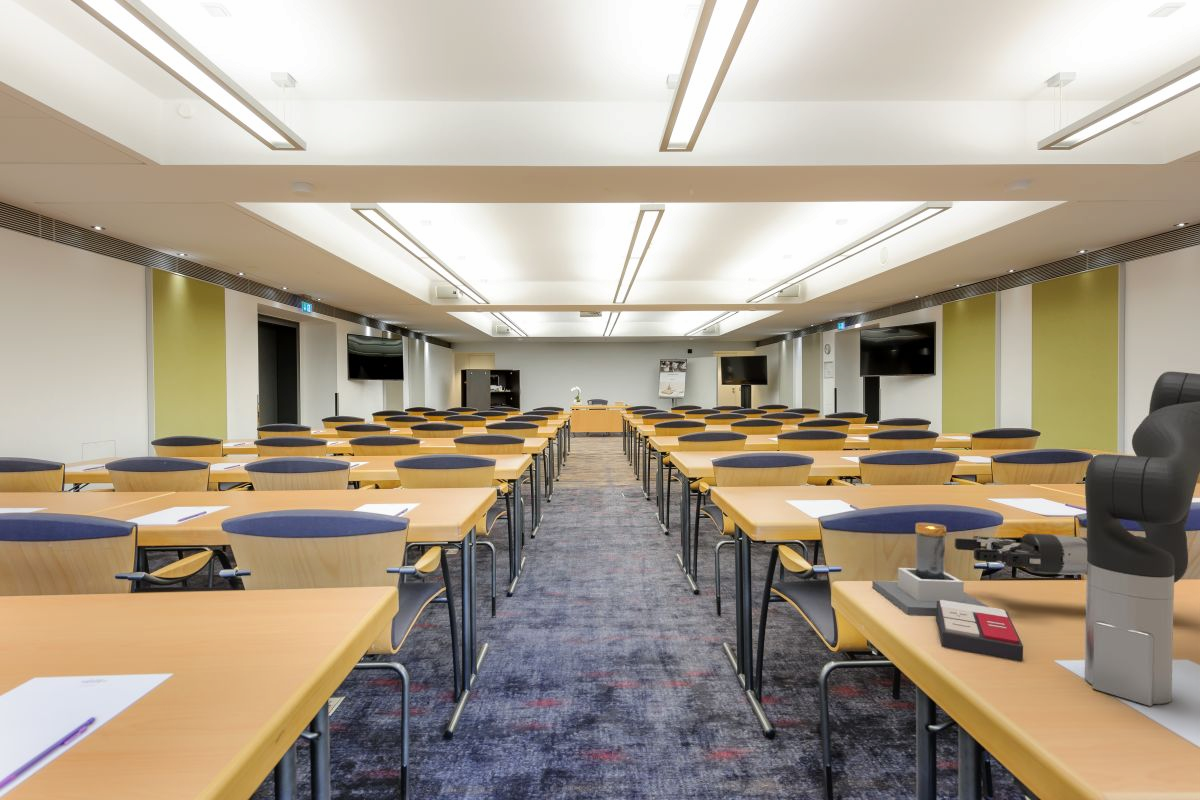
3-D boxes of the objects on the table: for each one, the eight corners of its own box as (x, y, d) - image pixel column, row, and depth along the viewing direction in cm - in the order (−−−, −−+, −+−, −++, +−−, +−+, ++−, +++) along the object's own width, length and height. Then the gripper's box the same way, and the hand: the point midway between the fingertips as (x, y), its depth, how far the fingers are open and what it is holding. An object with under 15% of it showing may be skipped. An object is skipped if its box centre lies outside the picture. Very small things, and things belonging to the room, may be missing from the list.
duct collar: (994, 618, 109) (995, 589, 109) (907, 614, 110) (908, 585, 110) (947, 590, 125) (948, 564, 125) (872, 587, 126) (872, 562, 126)
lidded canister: (939, 600, 114) (940, 529, 114) (910, 593, 118) (911, 524, 118) (949, 595, 117) (950, 526, 117) (920, 588, 121) (922, 521, 121)
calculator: (942, 627, 95) (936, 595, 109) (941, 653, 96) (935, 618, 109) (1024, 641, 90) (1007, 606, 104) (1023, 668, 91) (1006, 630, 104)
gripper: (1033, 527, 121) (949, 522, 123) (1078, 543, 107) (982, 538, 109) (1033, 563, 121) (948, 558, 123) (1077, 584, 107) (981, 578, 109)
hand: (964, 548), depth 116 cm, fingers open, 8 cm apart
